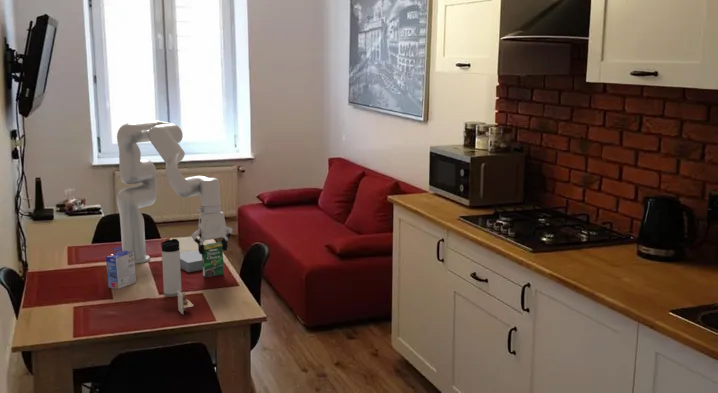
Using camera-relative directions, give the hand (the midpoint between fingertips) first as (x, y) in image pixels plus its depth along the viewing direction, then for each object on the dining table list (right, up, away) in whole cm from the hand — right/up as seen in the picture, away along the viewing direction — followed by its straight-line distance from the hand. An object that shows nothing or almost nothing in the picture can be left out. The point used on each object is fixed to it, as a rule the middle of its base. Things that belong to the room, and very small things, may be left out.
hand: (213, 252), depth 286 cm
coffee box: (0, -10, +2) cm, 10 cm away
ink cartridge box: (-33, -12, -10) cm, 36 cm away
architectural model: (-2, -18, -39) cm, 43 cm away
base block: (-12, -7, +16) cm, 21 cm away
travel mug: (-11, -14, -20) cm, 27 cm away
